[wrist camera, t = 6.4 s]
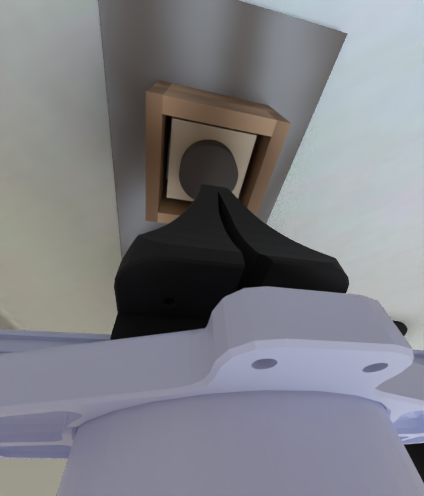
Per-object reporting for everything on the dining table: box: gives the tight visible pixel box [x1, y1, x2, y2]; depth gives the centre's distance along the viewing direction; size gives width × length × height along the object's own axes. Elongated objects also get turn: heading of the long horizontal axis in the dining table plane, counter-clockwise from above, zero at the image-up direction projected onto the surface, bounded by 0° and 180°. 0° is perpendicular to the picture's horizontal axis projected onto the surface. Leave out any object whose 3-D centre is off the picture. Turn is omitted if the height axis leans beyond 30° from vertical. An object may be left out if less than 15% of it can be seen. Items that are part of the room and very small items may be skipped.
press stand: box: [98, 0, 347, 259], centre depth 20 cm, size 14×28×6 cm, turn 169°
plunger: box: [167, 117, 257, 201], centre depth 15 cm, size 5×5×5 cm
